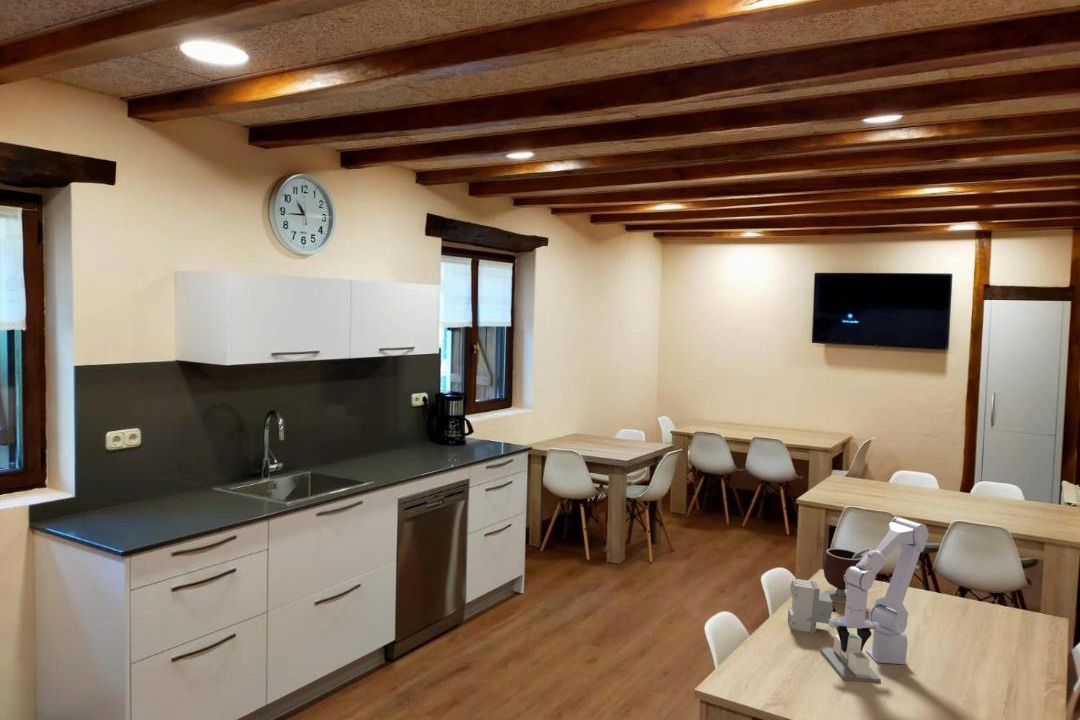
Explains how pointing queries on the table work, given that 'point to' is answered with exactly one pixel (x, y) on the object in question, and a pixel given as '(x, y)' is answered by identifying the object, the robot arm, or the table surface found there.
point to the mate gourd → (839, 570)
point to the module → (852, 644)
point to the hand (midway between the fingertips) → (851, 651)
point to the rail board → (845, 670)
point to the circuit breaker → (808, 606)
